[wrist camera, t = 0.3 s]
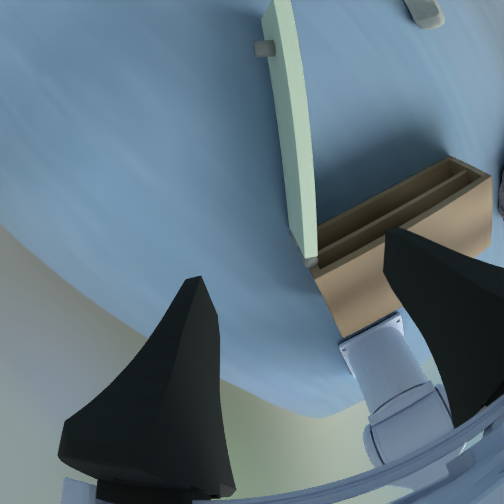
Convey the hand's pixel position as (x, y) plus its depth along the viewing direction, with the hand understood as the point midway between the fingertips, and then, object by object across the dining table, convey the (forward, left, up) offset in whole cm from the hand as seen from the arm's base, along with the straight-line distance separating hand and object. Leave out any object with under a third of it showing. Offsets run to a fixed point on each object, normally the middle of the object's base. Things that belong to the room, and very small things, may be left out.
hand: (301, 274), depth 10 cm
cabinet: (-8, -8, -10) cm, 15 cm away
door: (+3, -3, -9) cm, 10 cm away
